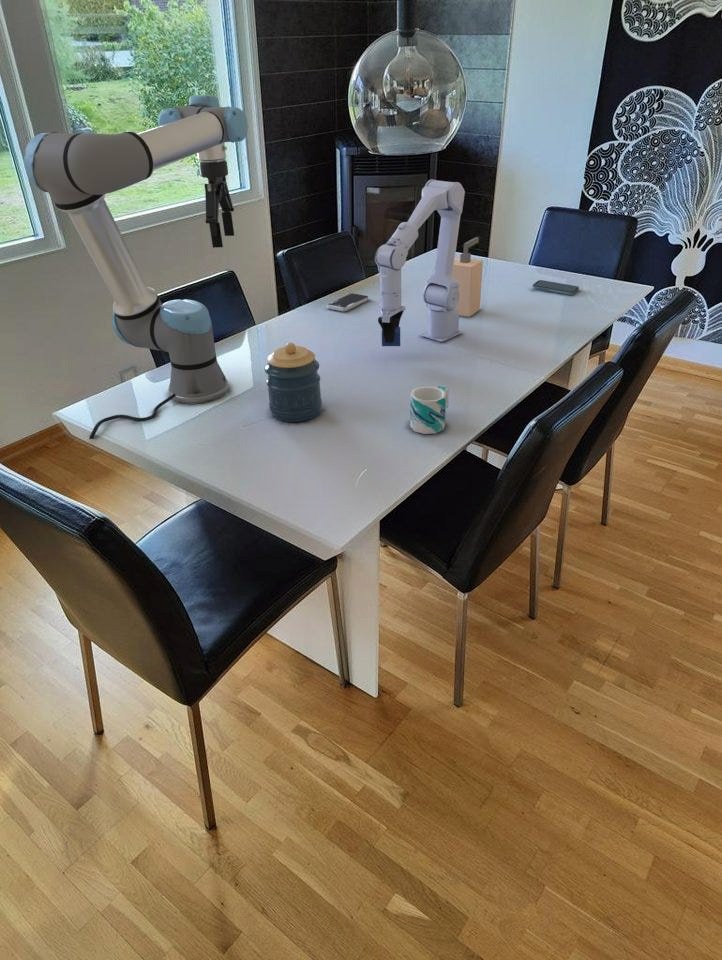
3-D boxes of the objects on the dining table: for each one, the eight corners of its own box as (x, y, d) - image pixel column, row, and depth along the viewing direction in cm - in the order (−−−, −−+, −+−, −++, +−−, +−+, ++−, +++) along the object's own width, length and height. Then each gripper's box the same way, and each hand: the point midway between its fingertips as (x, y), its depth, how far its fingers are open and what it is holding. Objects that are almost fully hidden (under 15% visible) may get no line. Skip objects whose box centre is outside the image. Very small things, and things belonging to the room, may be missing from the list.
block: (400, 346, 188) (400, 332, 186) (381, 346, 188) (381, 332, 186) (400, 340, 192) (400, 326, 189) (382, 340, 192) (382, 326, 190)
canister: (275, 426, 159) (266, 357, 150) (266, 403, 170) (257, 337, 160) (328, 418, 162) (323, 349, 153) (316, 396, 173) (310, 330, 163)
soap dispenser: (469, 317, 218) (472, 247, 206) (445, 313, 222) (447, 244, 210) (485, 305, 227) (489, 238, 215) (462, 302, 231) (465, 236, 219)
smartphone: (369, 296, 236) (344, 308, 226) (369, 300, 237) (344, 312, 227) (351, 293, 240) (326, 304, 230) (351, 296, 241) (326, 308, 230)
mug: (404, 428, 156) (404, 396, 152) (428, 408, 165) (428, 376, 160) (435, 436, 153) (436, 403, 148) (458, 415, 161) (460, 383, 156)
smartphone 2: (573, 292, 232) (531, 284, 239) (572, 296, 233) (531, 289, 240) (579, 286, 237) (539, 279, 244) (579, 290, 238) (538, 283, 245)
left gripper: (214, 167, 171) (226, 252, 183) (236, 153, 192) (246, 230, 203) (185, 167, 172) (199, 252, 183) (211, 154, 193) (221, 231, 204)
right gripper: (400, 300, 175) (400, 349, 182) (410, 283, 187) (409, 330, 194) (373, 298, 177) (375, 347, 184) (385, 282, 188) (386, 329, 196)
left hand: (223, 241), depth 193 cm, fingers open, 13 cm apart
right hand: (391, 338), depth 189 cm, fingers closed on block, 5 cm apart
